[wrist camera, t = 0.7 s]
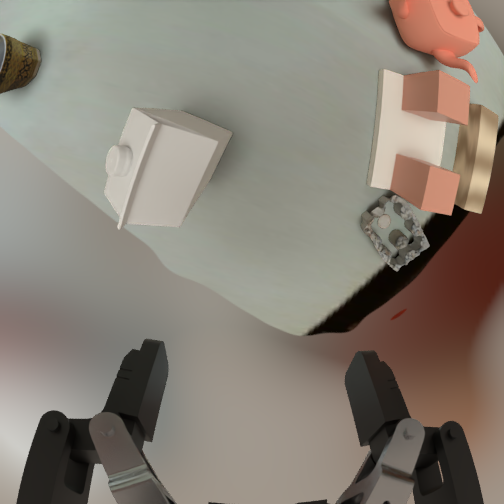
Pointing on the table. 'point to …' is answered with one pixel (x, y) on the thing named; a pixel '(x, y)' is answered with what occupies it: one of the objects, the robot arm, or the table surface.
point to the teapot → (439, 29)
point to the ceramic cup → (17, 63)
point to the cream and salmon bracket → (416, 137)
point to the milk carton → (162, 165)
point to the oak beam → (475, 157)
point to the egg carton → (395, 232)
